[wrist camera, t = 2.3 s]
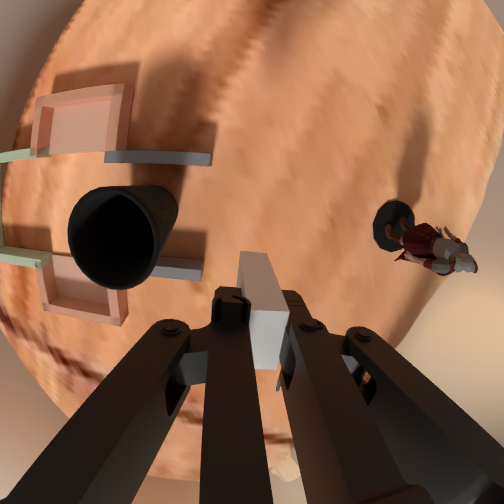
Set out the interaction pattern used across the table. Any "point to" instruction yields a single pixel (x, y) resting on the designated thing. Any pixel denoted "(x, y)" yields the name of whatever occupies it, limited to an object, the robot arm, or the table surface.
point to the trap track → (114, 145)
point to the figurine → (420, 241)
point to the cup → (121, 233)
